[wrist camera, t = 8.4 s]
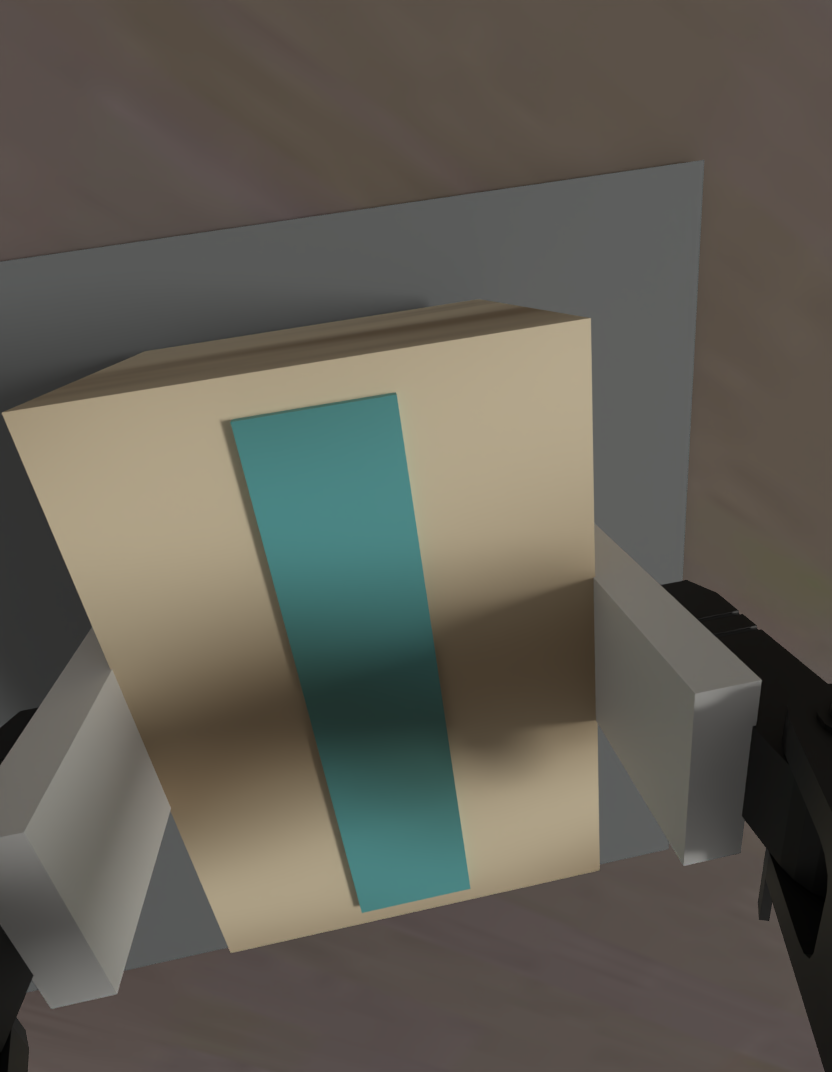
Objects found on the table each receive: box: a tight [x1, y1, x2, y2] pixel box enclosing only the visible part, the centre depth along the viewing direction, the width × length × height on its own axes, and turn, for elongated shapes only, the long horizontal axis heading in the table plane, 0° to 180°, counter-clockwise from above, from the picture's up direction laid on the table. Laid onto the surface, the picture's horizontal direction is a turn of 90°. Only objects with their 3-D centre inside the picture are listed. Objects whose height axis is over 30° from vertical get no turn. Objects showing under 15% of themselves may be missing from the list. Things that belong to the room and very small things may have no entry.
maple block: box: [2, 299, 600, 953], centre depth 12 cm, size 10×7×6 cm
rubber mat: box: [0, 160, 704, 993], centre depth 17 cm, size 26×22×1 cm
